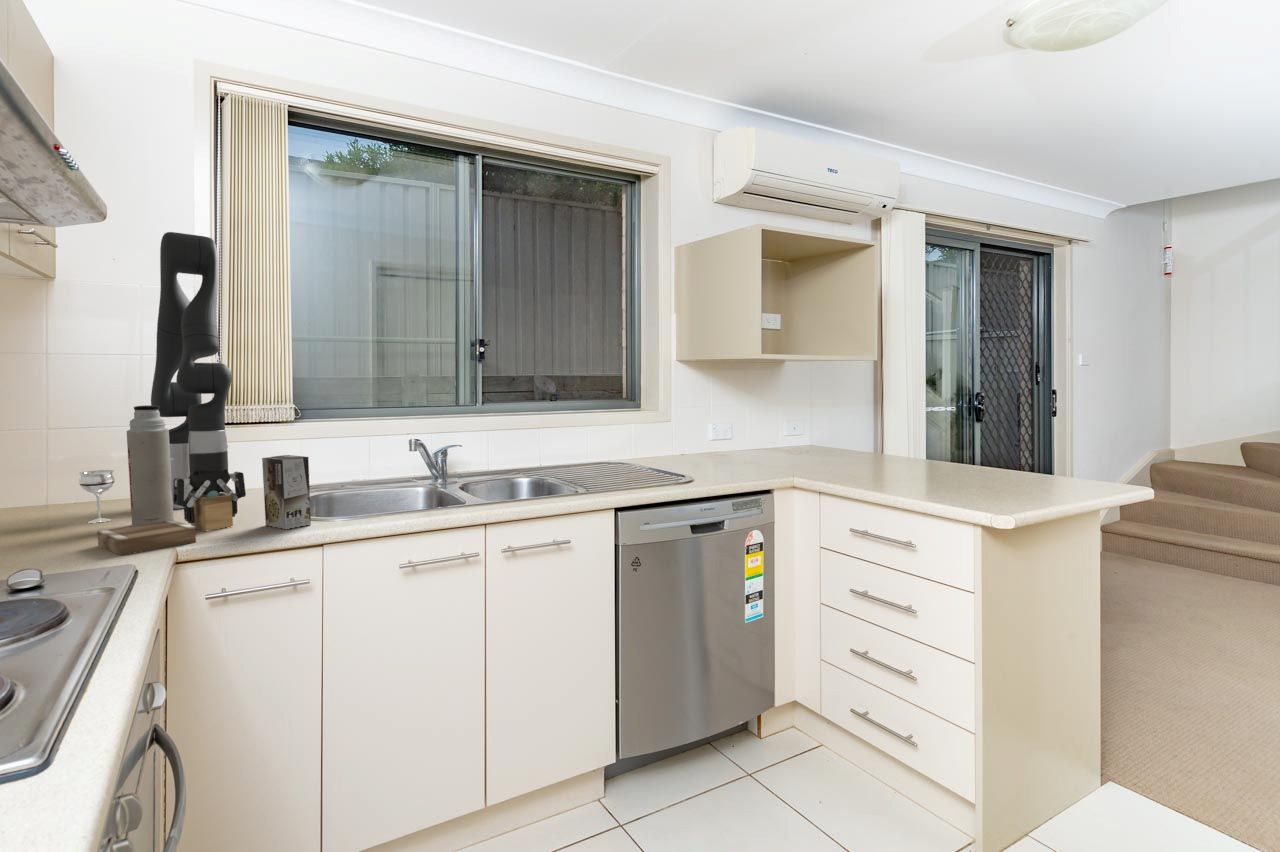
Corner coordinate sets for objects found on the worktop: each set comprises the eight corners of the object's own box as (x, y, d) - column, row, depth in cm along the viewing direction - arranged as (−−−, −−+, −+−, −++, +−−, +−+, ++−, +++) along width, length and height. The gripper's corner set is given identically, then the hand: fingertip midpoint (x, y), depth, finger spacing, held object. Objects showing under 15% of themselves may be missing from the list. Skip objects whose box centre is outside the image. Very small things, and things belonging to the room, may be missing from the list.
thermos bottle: (126, 529, 154) (119, 406, 152) (138, 522, 162) (131, 405, 160) (168, 526, 157) (161, 405, 155) (177, 520, 164) (171, 404, 162)
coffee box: (312, 525, 158) (309, 456, 157) (285, 530, 153) (282, 459, 152) (291, 520, 163) (288, 454, 162) (264, 525, 158) (261, 456, 157)
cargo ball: (200, 501, 156) (200, 487, 156) (215, 500, 158) (215, 487, 159) (206, 502, 154) (206, 488, 154) (221, 501, 157) (221, 487, 157)
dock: (98, 545, 139) (97, 530, 139) (170, 533, 149) (170, 519, 149) (121, 555, 131) (120, 538, 131) (195, 542, 142) (195, 526, 142)
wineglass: (124, 518, 166) (121, 469, 166) (102, 524, 160) (99, 473, 159) (97, 518, 167) (94, 469, 166) (73, 524, 160) (70, 473, 159)
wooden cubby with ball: (191, 527, 157) (189, 495, 156) (217, 523, 161) (216, 491, 161) (206, 531, 152) (204, 498, 152) (232, 527, 157) (231, 495, 156)
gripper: (233, 446, 163) (237, 513, 164) (165, 451, 152) (169, 523, 153) (248, 448, 159) (251, 516, 160) (179, 454, 147) (183, 527, 149)
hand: (211, 519), depth 157 cm, fingers open, 8 cm apart
